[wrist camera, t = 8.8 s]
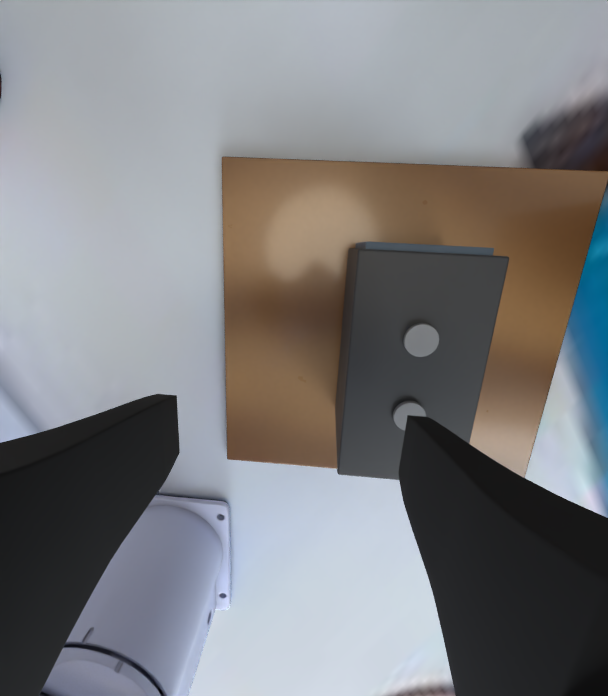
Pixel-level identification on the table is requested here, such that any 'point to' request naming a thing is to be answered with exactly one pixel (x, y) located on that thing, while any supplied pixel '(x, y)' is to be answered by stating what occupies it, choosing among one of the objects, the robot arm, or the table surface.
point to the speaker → (411, 346)
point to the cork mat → (330, 278)
